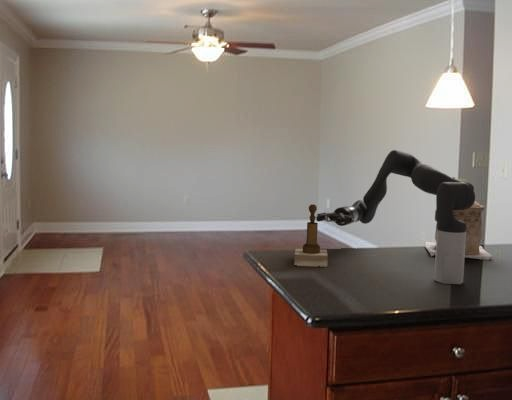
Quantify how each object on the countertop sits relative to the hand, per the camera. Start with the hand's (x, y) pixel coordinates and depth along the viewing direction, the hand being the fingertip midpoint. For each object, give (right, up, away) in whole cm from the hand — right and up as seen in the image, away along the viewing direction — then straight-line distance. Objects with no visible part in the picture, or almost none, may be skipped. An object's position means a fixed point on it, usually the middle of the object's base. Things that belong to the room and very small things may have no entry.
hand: (327, 219), depth 225 cm
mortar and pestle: (-7, -12, -7) cm, 16 cm away
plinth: (-7, -16, -7) cm, 19 cm away
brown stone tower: (+56, -15, +17) cm, 61 cm away
